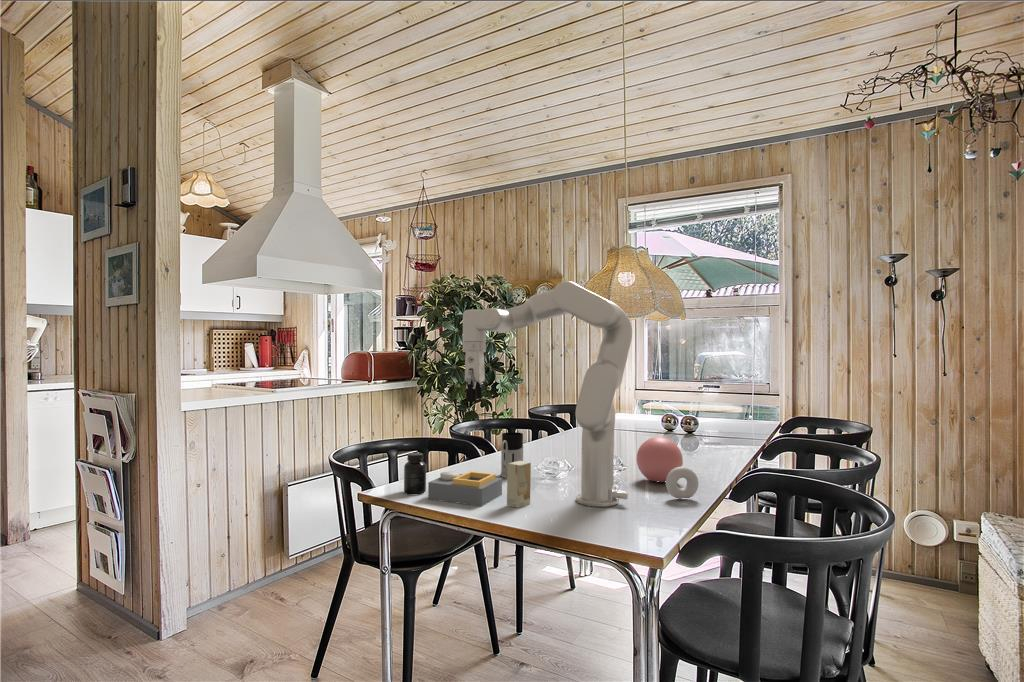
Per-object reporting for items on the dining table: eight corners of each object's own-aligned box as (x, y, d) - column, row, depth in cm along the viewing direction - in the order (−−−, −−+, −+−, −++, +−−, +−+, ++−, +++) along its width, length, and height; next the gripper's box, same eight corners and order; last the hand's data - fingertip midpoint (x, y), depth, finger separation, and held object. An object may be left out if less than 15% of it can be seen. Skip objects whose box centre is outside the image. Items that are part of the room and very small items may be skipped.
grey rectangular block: (501, 494, 169) (502, 473, 169) (481, 506, 156) (482, 483, 156) (451, 488, 176) (451, 468, 176) (428, 499, 163) (428, 477, 163)
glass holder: (527, 474, 197) (528, 432, 197) (513, 483, 184) (514, 438, 184) (505, 472, 200) (505, 431, 200) (490, 480, 187) (490, 437, 187)
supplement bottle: (404, 489, 174) (405, 452, 174) (426, 489, 174) (426, 451, 175) (402, 495, 167) (403, 456, 167) (425, 494, 168) (425, 455, 168)
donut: (695, 497, 167) (695, 465, 167) (700, 501, 163) (700, 467, 164) (664, 498, 166) (664, 465, 166) (668, 501, 163) (668, 467, 163)
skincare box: (518, 508, 154) (518, 465, 154) (506, 505, 157) (506, 463, 157) (531, 503, 159) (531, 461, 159) (519, 501, 162) (519, 459, 162)
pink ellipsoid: (678, 475, 197) (678, 432, 198) (685, 488, 178) (685, 441, 178) (635, 473, 200) (635, 431, 201) (637, 486, 181) (637, 440, 181)
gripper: (480, 347, 167) (480, 403, 167) (490, 347, 184) (489, 398, 184) (456, 347, 168) (456, 402, 168) (468, 347, 185) (468, 397, 185)
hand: (474, 400), depth 176 cm, fingers open, 9 cm apart
